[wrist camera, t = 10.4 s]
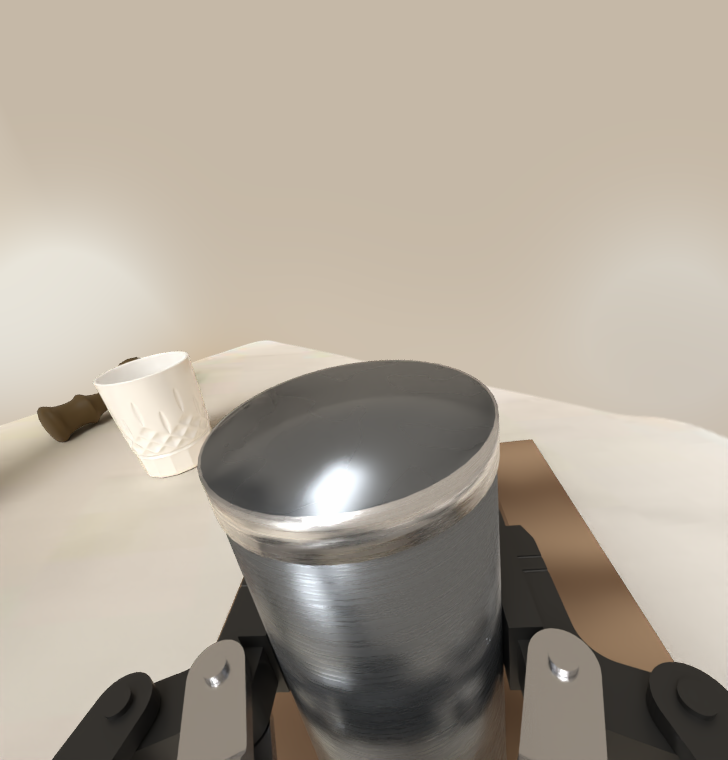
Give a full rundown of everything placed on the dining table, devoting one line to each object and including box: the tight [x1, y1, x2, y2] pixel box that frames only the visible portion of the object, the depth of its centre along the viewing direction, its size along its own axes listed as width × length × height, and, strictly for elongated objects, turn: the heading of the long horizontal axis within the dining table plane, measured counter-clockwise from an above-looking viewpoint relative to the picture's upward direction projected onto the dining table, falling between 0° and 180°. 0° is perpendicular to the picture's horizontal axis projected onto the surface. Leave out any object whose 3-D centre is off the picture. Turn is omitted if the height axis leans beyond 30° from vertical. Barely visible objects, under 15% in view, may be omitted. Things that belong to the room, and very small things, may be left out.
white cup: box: [93, 351, 212, 478], centre depth 35 cm, size 8×8×10 cm
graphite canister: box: [197, 360, 507, 760], centre depth 10 cm, size 6×6×14 cm
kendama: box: [37, 357, 140, 442], centre depth 53 cm, size 6×10×20 cm
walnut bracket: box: [217, 440, 674, 760], centre depth 20 cm, size 22×20×3 cm
